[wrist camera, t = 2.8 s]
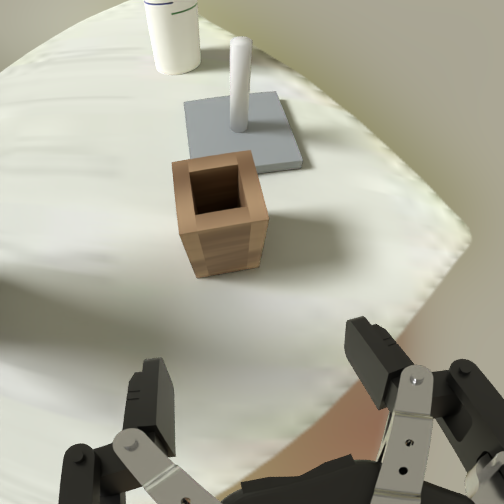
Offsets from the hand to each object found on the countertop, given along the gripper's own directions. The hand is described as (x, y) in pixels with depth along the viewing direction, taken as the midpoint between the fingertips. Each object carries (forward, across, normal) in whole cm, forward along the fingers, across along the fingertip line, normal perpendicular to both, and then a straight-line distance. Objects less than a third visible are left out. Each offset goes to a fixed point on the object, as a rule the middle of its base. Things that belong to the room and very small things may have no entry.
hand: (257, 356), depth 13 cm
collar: (+19, 0, +2) cm, 19 cm away
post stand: (+28, -4, -7) cm, 30 cm away
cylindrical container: (+42, +2, -20) cm, 46 cm away
